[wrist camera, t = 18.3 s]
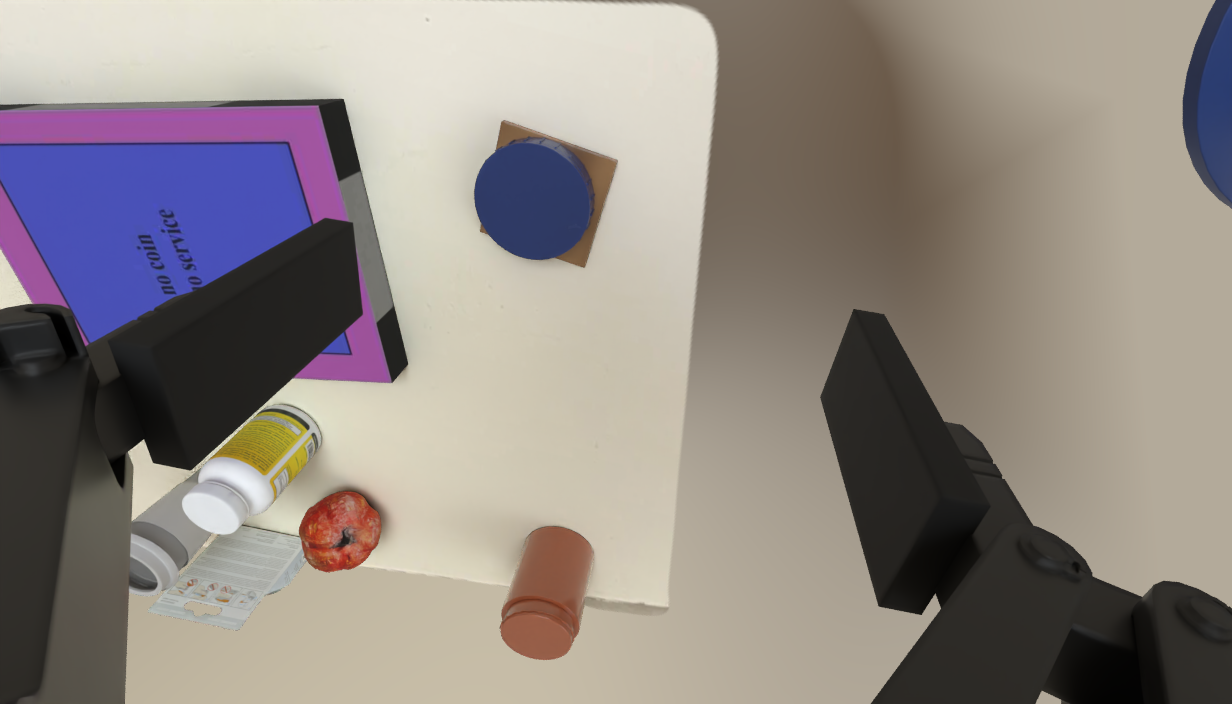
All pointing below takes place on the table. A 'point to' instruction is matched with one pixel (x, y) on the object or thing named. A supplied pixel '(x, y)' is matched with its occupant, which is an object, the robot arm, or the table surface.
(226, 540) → the ink box
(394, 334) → the book
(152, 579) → the cup
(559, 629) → the jar
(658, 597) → the table surface
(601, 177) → the cork mat
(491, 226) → the lid
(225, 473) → the pill bottle
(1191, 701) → the robot arm
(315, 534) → the pomegranate
